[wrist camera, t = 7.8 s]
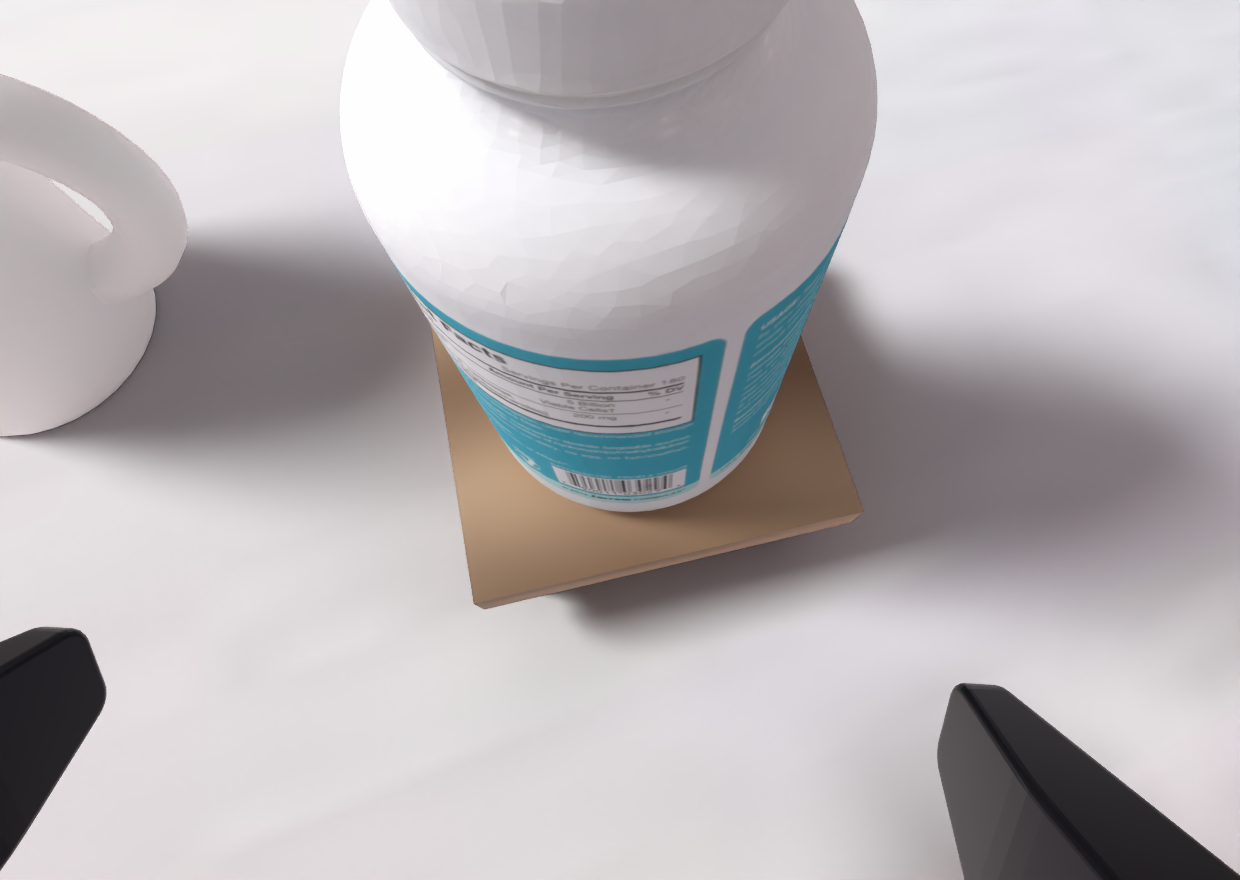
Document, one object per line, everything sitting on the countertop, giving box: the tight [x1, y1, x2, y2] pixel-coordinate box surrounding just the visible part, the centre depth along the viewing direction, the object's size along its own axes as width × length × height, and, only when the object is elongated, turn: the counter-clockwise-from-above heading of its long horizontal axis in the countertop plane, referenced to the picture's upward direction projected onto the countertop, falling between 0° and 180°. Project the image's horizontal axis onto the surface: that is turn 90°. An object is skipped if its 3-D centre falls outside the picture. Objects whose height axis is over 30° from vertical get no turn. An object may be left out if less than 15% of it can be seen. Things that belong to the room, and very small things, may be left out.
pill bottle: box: [340, 0, 877, 512], centre depth 13 cm, size 8×7×14 cm
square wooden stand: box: [431, 326, 864, 609], centre depth 21 cm, size 10×10×4 cm
